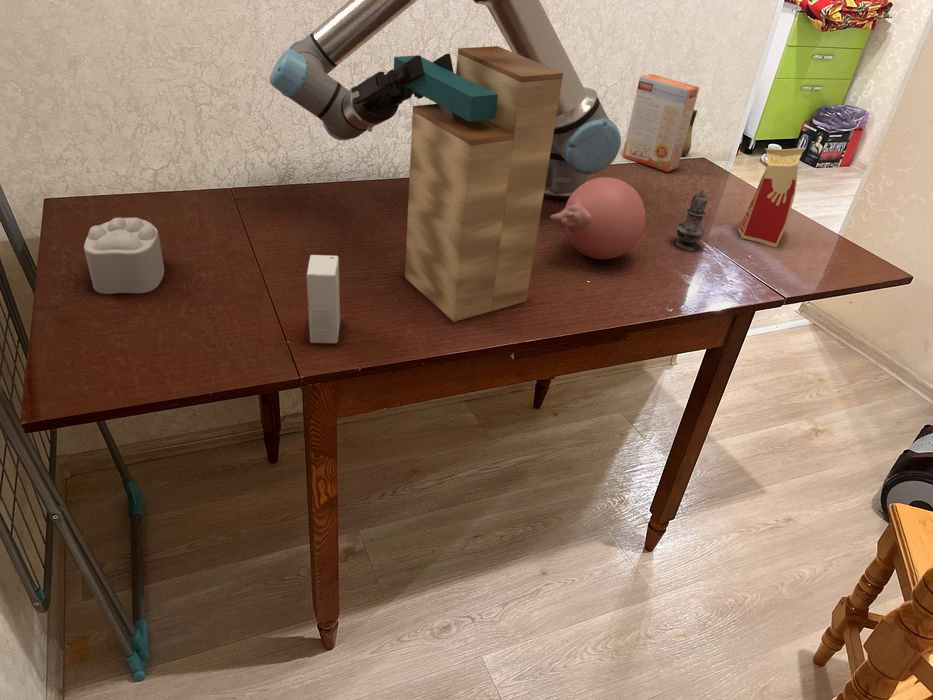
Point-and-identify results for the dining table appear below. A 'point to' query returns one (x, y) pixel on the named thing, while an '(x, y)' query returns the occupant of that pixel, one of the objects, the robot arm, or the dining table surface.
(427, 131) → the step stand
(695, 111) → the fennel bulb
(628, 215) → the balloon
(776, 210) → the red printed carton
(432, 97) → the long teal rectangular block
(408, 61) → the robot arm
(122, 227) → the lumpy-topped squat cylinder
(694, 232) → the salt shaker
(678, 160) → the cracker box
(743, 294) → the dining table surface
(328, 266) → the cosmetic box
